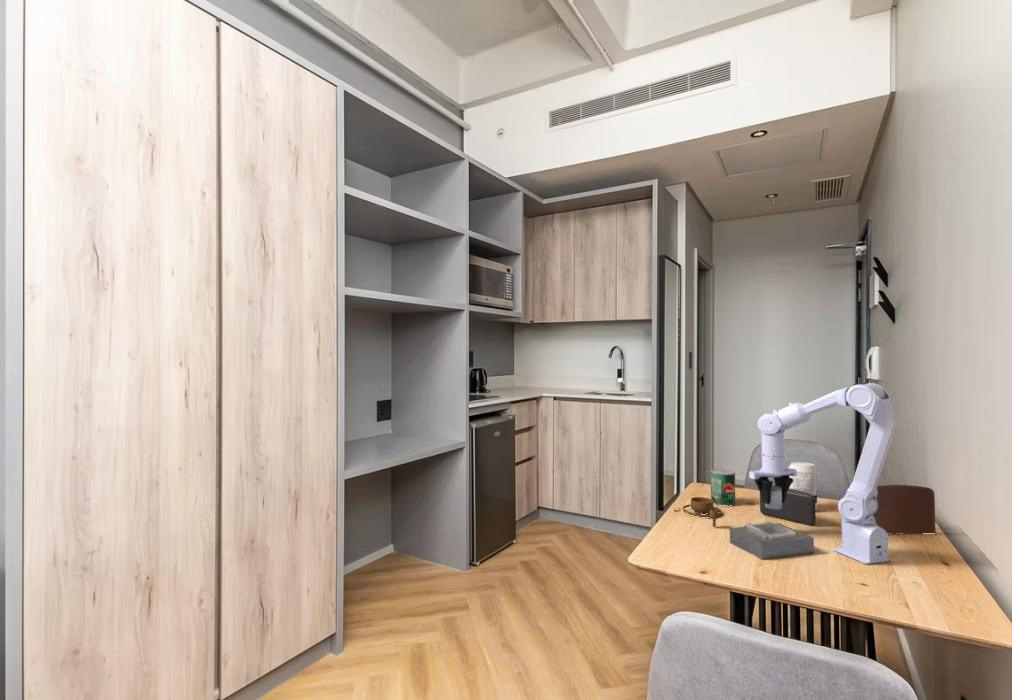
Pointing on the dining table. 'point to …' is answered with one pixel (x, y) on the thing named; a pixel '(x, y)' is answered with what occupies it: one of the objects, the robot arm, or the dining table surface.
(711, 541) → the dining table surface
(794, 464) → the supplement can
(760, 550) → the grey square pedestal
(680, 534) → the dining table surface
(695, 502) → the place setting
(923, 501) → the letter holder
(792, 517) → the dark grey slab
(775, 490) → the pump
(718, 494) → the canned tomato
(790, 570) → the dining table surface
